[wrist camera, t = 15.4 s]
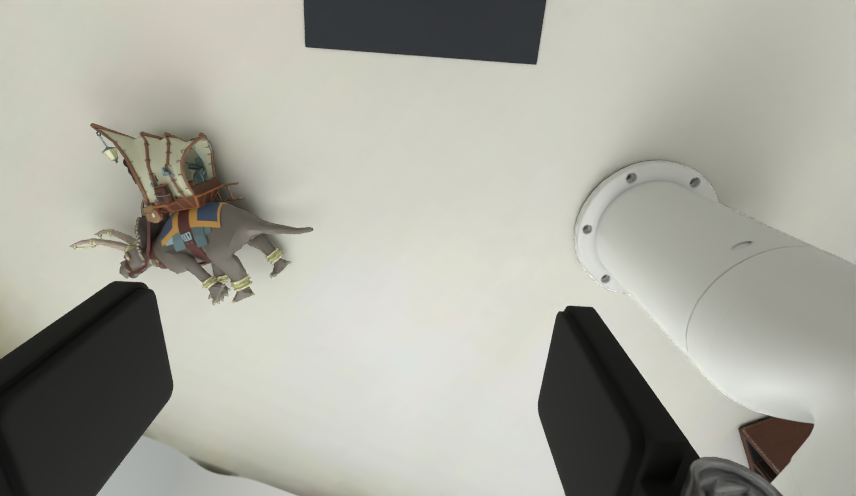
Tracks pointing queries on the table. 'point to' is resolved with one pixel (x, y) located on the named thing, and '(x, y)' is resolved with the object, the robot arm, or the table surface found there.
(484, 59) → the mat
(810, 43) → the table surface
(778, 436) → the letter holder
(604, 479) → the robot arm
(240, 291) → the figurine
